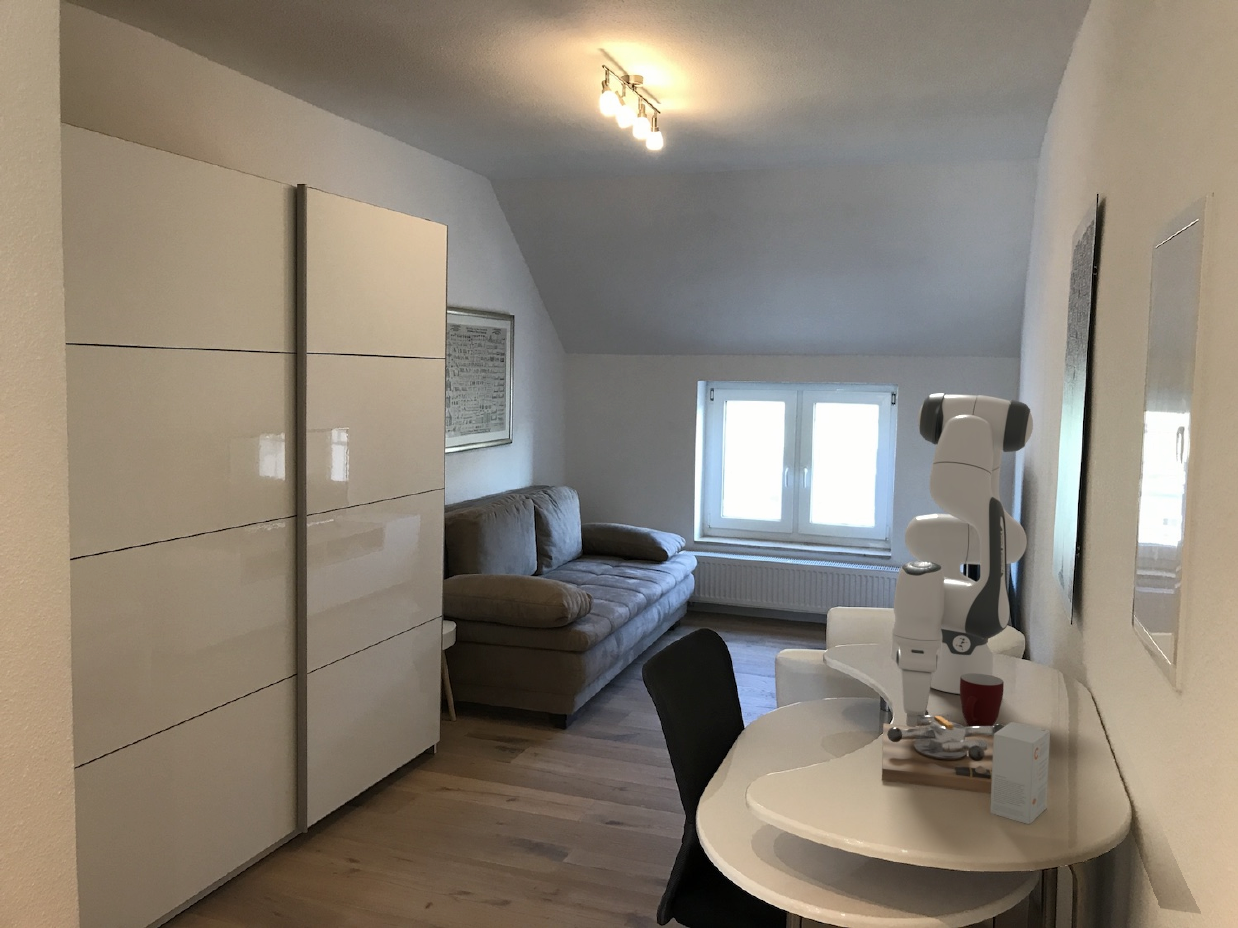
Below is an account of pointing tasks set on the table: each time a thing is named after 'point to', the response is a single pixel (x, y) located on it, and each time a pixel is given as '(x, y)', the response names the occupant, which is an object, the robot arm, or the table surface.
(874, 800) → the table surface
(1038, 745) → the small box
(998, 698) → the mug
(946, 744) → the capstan
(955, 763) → the cutting board
